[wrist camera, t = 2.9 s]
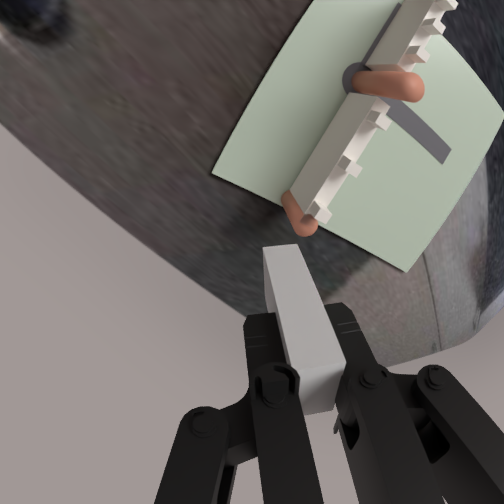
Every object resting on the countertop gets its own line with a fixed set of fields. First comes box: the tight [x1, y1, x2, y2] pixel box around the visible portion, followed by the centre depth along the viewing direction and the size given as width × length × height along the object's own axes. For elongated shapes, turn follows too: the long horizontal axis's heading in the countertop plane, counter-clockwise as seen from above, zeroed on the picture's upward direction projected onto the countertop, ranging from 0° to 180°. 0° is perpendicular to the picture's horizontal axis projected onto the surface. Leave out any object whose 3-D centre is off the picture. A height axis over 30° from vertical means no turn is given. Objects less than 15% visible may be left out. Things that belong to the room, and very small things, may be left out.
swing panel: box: [281, 92, 392, 237], centre depth 21 cm, size 11×2×6 cm, turn 151°
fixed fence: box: [351, 0, 458, 103], centre depth 16 cm, size 2×12×8 cm, turn 151°
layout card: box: [212, 0, 504, 273], centre depth 24 cm, size 24×23×1 cm
